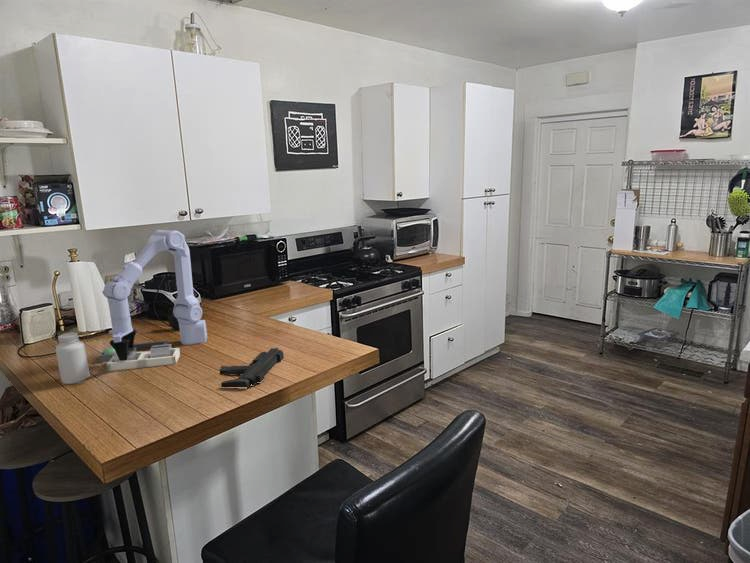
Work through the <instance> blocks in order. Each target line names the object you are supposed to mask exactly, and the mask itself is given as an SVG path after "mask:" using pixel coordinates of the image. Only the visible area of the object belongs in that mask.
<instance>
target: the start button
mask: <svg viewBox="0 0 750 563" xmlns="http://www.w3.org/2000/svg"><path fill="white" fill-rule="evenodd" d="M103 350H104V355H107V354H113V353H114V352H115V350H114V348H113V347H112V346H110V347H107V348H104V349H103Z"/></svg>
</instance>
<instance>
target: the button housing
mask: <svg viewBox="0 0 750 563" xmlns="http://www.w3.org/2000/svg"><path fill="white" fill-rule="evenodd" d="M113 355H114V354H107V355H104V349H103V351H102V352H101V353H100V354H99V355H98V361H99V364H103V363H104V362H109V360H110V359H111V358H112V357H113Z"/></svg>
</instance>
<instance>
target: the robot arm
mask: <svg viewBox="0 0 750 563" xmlns="http://www.w3.org/2000/svg"><path fill="white" fill-rule="evenodd" d="M165 251H167V252H169V253H170V254H172V255H173V259H174V260H173V262H174V269H175V270H174V272H175V280H176V281H175V282H176V292H177V297H176V299H175V300H174V307H173V308H174V309H173V314H174V316H175V317H176V318H177V319H178V322H179V329H178V330H179V336H180V343H181V345H183V346H184V345H187V346H188V345H189V346H190V345H194V344H203V343H207V339H208V331H207V323H206V320H204V319H202V316H203V309H202V307H201V305H200V300H198V298H197V297H195V295H194V286H193V283H194V282H193V275H192V273H193V272H192V262H191V253H190V252H191V251H190V248H189V245H188V244H187V242H186V237H185V234H184V233H181V232H180V231H178V230H165V229H164V230H163V229H157V230H155V231H154V232H153V234H151V236H150V237H149V239H148V242H147V243H146V244H145V246H144V247H143V248H142V250H141V251H140V252H139V254H138V255H137V257H136V258H135V259H134V260H133V261H132V262H127V263H126V264H123V265H122V266H121V268H122V269H121V270H119V272H118V273H117V274H116V276H113V277H112V280H110V281H108V282H106V283H105V285H104V287H103V290H102V294H103V296H104V297H106V299H107V303H108V309H109V317H110V321H111V327H112V329H110V330H109V331H108V334H109V335H110V334H112V337H113V338H112V339H111V340H110V341H109V344H110V347H113V348H114V350H115V351H116V353H117V355H118V358H119V360H120V361H123V360H127V357H128V348H133V346H134V344H135V337H136V334H137V329H134V328H133V326H132V318H131V313H130V306H129V300H128V298H129V296H130V295H131V291H132V290H131V289H132V288H133V286H134V284H135V283H136V282H137V281H138V279H140V277H141V276H142V275H143V268H144V267H145V266H146V265H147V264H148V263H149V262H150V261H151V260H152V259H153V257H154V256H156V254H157V253H159V252H165ZM200 318H201V320H200Z"/></svg>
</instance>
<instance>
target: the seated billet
mask: <svg viewBox="0 0 750 563" xmlns="http://www.w3.org/2000/svg"><path fill="white" fill-rule="evenodd" d="M172 348H173V347H172V343H168V344H165V345H155V346H152V347H150V349H149V351H150V353H151V358H158V357H168V356H173V353H172Z"/></svg>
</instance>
